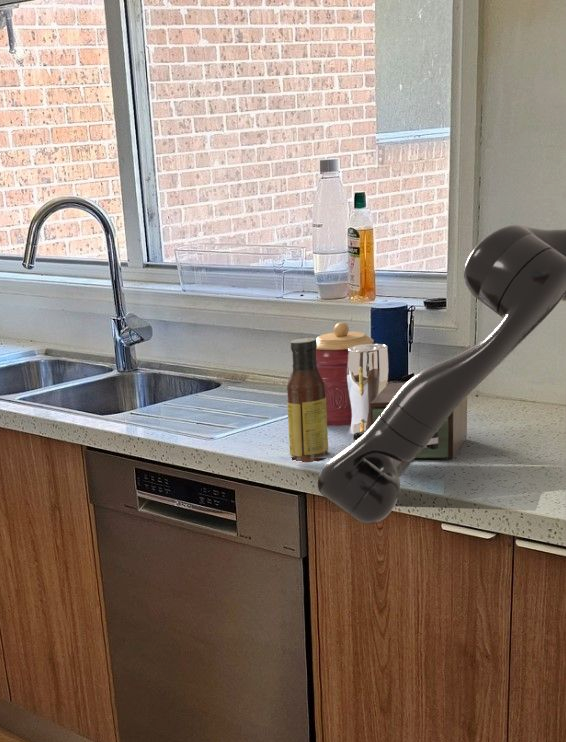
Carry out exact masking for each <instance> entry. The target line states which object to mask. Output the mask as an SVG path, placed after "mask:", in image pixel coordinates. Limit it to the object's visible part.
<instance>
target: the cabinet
mask: <svg viewBox="0 0 566 742" xmlns="http://www.w3.org/2000/svg"><path fill="white" fill-rule="evenodd" d="M405 383H406V382H389V383H387V386H386V387H385V388H384V389H383V390H382V391H381V392H380V393H379V394H378V396H377V397H376V398H375V399H374V400H373V401H372V402H371V403H370V410H371V426H372V424H373V409H377V408H382V407H387V405H388V404H389V403H390V402H391V400H392V399H393V398H394V396H395V395H396V394H397V392H398V391H399V390H400V389H401V388H402V386H403V385H404V384H405ZM467 439H468V396H467V397H466V398H465V399H464V400H463V401H462V402H461V403H460V404H459V405H458V406H457V407H456V409H455V410H454V411H453V412H452V413H451V414H450V416H449V456H448V457H440V458H415V459H416V460H417V459H419V460H420V459H421V460H423V459H424V460H450V461H453V460H454V459H455V458H456V456H457V454H458V453H459V451H460V450H461V448H462V446H463V445H464V444H465V442H466V440H467ZM415 459H414V460H415Z"/></svg>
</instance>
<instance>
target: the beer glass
mask: <svg viewBox="0 0 566 742" xmlns="http://www.w3.org/2000/svg"><path fill="white" fill-rule="evenodd" d="M346 378H347V389H348V395H349V401H350V407H351V423H350V425H349V428H348V434H349V435H352V436H354V433H357V432H362V431H366V430H368V429H369V428H370V427H371V410H370V403H371V402H372V401H373V400H374V399H375V398H376V397H377V396H378V394H379V393H380V392H381V391H382V390H383V389H384V388H385V387H386V386H387V385H388V381H389V352H388V344H387V345H386V344H384V343H372V344H362V345H355V346H351V347H349V348H348V356H347V369H346Z"/></svg>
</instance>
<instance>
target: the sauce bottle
mask: <svg viewBox="0 0 566 742" xmlns="http://www.w3.org/2000/svg"><path fill="white" fill-rule="evenodd" d="M316 339H317V338H313V337H305V338H297V339H293V340H291V341H290V351H291V355H292V367H291V368H292V372H291V374H290V376H289V377H288V380H287V383H286V391H287V392H286V394H287V395H286V396H287V400H286V406H287V408H286V409H287V422H288V443H289V444H288V445H289V454H290V455H291V457H290V459H291V458H292V459H291V460H292V461H293V460H296V461H302V462H301V463H314V462H313V461H317V462H321V460H322V461H324V460H326V459H327V457H323V456H326V455H328V453H329V452H328V450H329V436H328V425H327V411H326V393H325V387H324V382H323V380H322V378H321V376H320V374H319V371H318V369H317V363H316V347H317V343H316ZM296 461H295V462H296Z"/></svg>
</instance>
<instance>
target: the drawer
mask: <svg viewBox="0 0 566 742" xmlns="http://www.w3.org/2000/svg"><path fill="white" fill-rule="evenodd" d="M385 408H386V407H382V408H377V409H373V423H374V422H375V421H376V420H377V418H378V417H379V416H380V415H381V413H382V412H383V411H384V409H385ZM448 456H449V417H448V418H447V419H446V421H445V422H444V423H443V424H442V426H441V427H440V428H439V429H438V448H437V449H430V448H423V449H422V451H421V452H420V453H419V454H418V456H417V457H416V458H440V457H448Z"/></svg>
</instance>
